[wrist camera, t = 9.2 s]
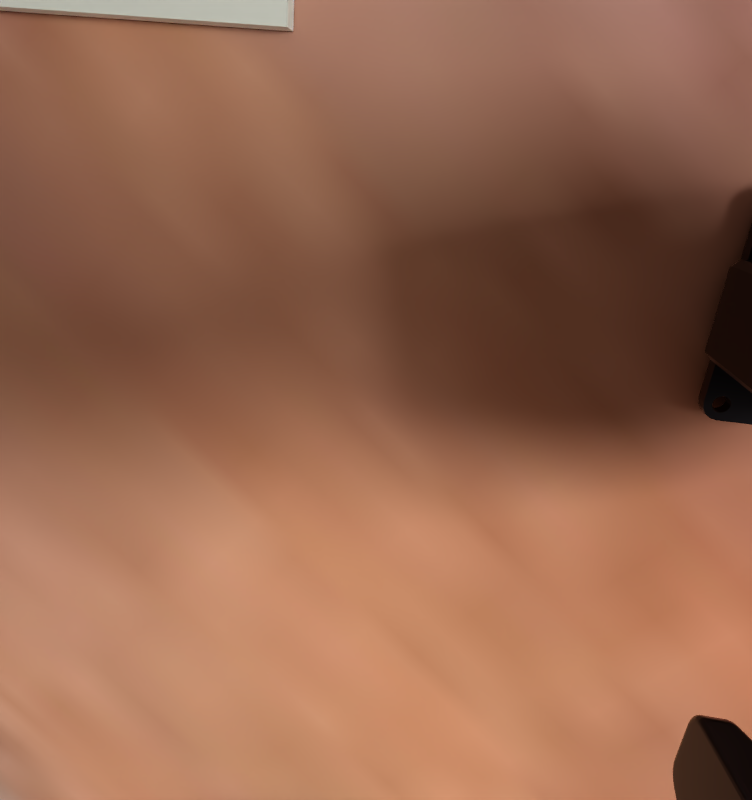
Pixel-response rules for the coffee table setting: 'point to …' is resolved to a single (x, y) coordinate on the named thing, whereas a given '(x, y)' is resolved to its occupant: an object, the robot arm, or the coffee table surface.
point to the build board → (171, 11)
